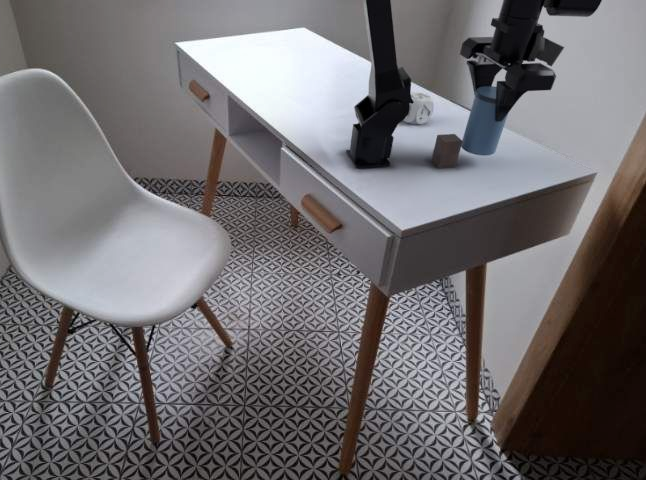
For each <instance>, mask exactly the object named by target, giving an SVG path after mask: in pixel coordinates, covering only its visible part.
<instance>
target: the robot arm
mask: <svg viewBox="0 0 646 480" xmlns="http://www.w3.org/2000/svg"><path fill="white" fill-rule="evenodd" d="M391 1H392V0H362V5H363V13H364V19H365V27H366V33H367V41H368V49H369V57H370V66H371V67H370V72H369V78H368V94H367V95H366V96H365V97H364V98H362V99H361V100H360V101H359V102H358V103H356V105H354V106H353V109H354V114H355V117H356V119H357V121H358V123H353V124H352V130H351V138H350V144H349V145H350V146H349V149H346V150H345V154H346V156H347V157H348V158H349V160H350V161H351V163H352V164H353V166H354V167H355V168H356V169H369V168H370V169H371V168H382V167H384V168H385V167H391V164H392V163H391V161H390V158H391V156H392V149H393V144H394V140H395V138H394V136H393V134H394V133H395V130H396V129H397V127H398V125H399V124H401V123H402V122H404V121H403V120H404V119H405V117H406V116H407V115H408V114H409V109H410V104H409V103H411V104H413V103H414V102H413V100H412V98H411V93H412V92H411V91H412V90H411V89H412V79H411V77H410V74H409V73H408V72H407V70H406V69H405V68H404V67H403V66H401V67H399V66H398V59H397V50H396V41H395V30H394V21H393V20H394V19H393V11H392V2H391ZM602 1H603V0H502V4H501V8H500V11H499V15H498V17H492V19H491V22H490V26H491V27H493V28H495V29H494V32H493V36H475V37H474V36H473V37H472V36H471V37H469V36H468V38H466V39H465V40H464V41H463V42H462V44H461V48H460V52H459V55H460V56H461V57H463V58H465V59H466V65H467V66H468V70H469V75H470V79H471V84H472V88H473V95H474V96H475V92H476V89H477V88H479V87H483V86H493V83H494V81H495V79H496V76H497V75H498V74H499V72H501V71H502V69H503V70H505V76H504V80H497V81H496V86H495V87H496V105H495V121H496V122H501V121H503V119H504V118H505V117H506V115H507V114H508V115H509V113H510V111H512V109H513V108H514V106H515V105H516V104H517V102H518V101H519V100H520V98H522V97H523V95H524V94H526V93H528V92H537V91H539V92H540V91H551V90H552V89H553V87H554V84H555V81H556V78H557V75H556V73H555V71H554V70H553V69H552V68H551V67H553V65H554V64H555V62H556V61H557V59H558V58H559V57H560V55H561V53H562V52H563V51H564V49H565V46H563V45H561V44H559V43H557V42H554V41H552V40H550V39H549V38H547V37H544V36H545V30H544V25H543V24H540V23H538V22H539V19H540V16H541V13H542V10H543V8H544V9H545V10H546V13H547V15H548V16H550V17H578V18H580V17H583V18H588V17H591V16H592V15H594V14H595V12H597V10H598V9H599V7H600V6H601V4H602ZM470 59H471V60H470ZM536 60H539V61H541V62H544V63H546V65H547V66H546V65H544V64H542V63H541V62H535V61H536ZM524 62H527V63H524ZM532 62H533V63H532ZM548 66H549V67H548Z"/></svg>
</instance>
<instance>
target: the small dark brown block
mask: <svg viewBox="0 0 646 480" xmlns="http://www.w3.org/2000/svg"><path fill="white" fill-rule="evenodd" d="M435 139H436V140H435V143H434V148H433V151H432V156H431V163H432V164H434V166H435V167H436V168H437V169H448V168H456V166H457V163H458V159H459V155H460V152H461V149H462V147H461V145H462V142H463V141H462V140H463V139H461V138H460V137H459V136H458V135H457V134H456V133H448V134H447V133H446V134H436V138H435Z"/></svg>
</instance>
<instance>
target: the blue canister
mask: <svg viewBox="0 0 646 480" xmlns="http://www.w3.org/2000/svg"><path fill="white" fill-rule="evenodd" d="M495 105H496V86H493V85H492V86H483V87H479V88H477V89H476V92H475V95H474V98H473V102H472V105H471V109H470V112H469V116H468V118H467V119H468V120H467V123H466V125H465V130H464V133H463V137H462V139H461V140H462V141H463V142H462V145H461V149H462V150H464V151H465V152H467V153H470V154H472V155H476V156H482V157H483V156H491V155H494V154H496V152H497V151H496V150H497V148H498V145H499V142H500V140H501V136H502V133H503V130H504V128H505V125H506V122H507V118H508V115H509V113H508V114H507V115H506V117H505V118H504V119H503V121H501V122H496V121H495Z"/></svg>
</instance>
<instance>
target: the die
mask: <svg viewBox="0 0 646 480" xmlns="http://www.w3.org/2000/svg"><path fill="white" fill-rule="evenodd" d="M411 98H412V100H413V102H414V103H413V104H411V103H409V104H410V109H409V114H408V115H407V116H406V117H405V119H404V120H403V121H402V122H404V123H406V124H410V125H414V126H415V125H419V126H420V125H423V124H425V123H427V122H428V121H429V120H430V119H431V117H432V115H433V113H434V109H435V105H434V104H435V103H434V100H433V98H432V97H431V95H429V94H427V93H424V92H419V91H418V92H417V91H413V92H411Z"/></svg>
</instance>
